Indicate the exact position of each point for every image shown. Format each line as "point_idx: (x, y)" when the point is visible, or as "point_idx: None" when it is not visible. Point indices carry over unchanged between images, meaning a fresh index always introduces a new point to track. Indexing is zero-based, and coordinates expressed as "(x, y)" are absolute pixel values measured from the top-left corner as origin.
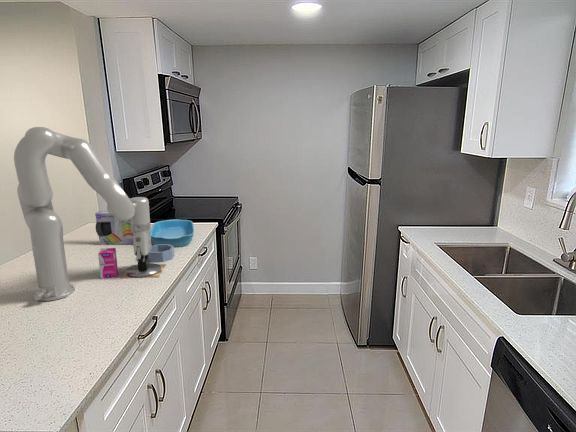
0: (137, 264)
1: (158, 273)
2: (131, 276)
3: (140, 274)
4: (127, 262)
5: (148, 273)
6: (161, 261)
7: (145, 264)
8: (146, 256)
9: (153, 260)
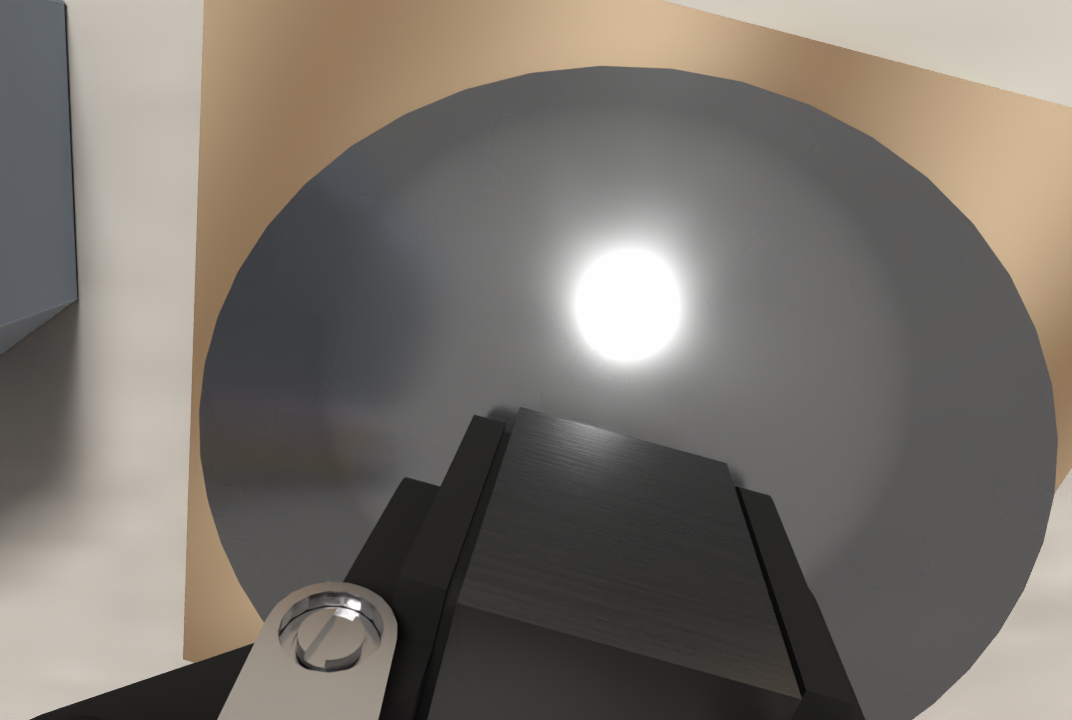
0: (264, 613)
1: (944, 162)
2: None
3: (952, 605)
4: (29, 688)
5: (988, 440)
6: (28, 46)
7: (809, 617)
8: (382, 688)
9: (12, 274)
